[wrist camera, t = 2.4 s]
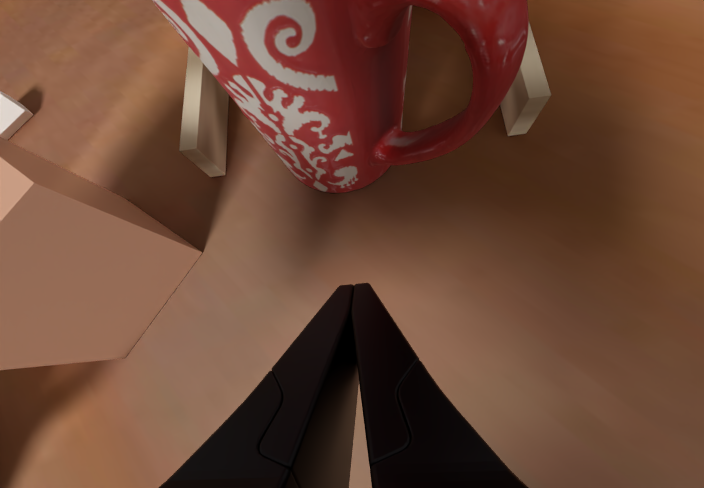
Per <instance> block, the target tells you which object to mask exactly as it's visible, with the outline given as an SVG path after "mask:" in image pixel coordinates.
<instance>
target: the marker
mask: <svg viewBox="0 0 704 488" xmlns="http://www.w3.org/2000/svg"><path fill="white" fill-rule="evenodd" d="M33 115H34V114H32V113H31V112H30V111H29V110H28V109H27V108H26V107H25V106H23V105H22V104H21V103H19V102H18V101H16V100H15V99H13V98H12V97H10V96H9V95H7V94H5V93H3V92H1V91H0V137H2V138H4V139H6V140H8V139H9V138H10V137H11V136H12V135H13V134H14V133H15V132H16V131H17V130H18V129H19V128H20V127H21V126H22V125H23V124H25V123H26V122H27V121H28V120H29V119H30V118H31V117H32V116H33Z"/></svg>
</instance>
